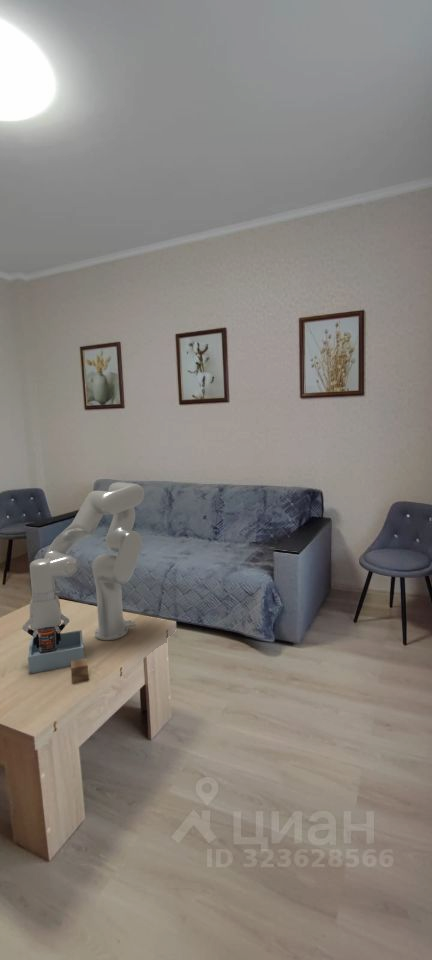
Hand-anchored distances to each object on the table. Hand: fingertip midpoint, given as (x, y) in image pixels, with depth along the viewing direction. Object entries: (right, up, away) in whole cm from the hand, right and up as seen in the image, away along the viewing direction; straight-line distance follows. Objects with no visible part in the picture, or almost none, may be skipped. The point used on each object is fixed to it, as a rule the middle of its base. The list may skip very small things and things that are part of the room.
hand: (47, 644), depth 159 cm
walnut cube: (+15, -7, -11) cm, 20 cm away
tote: (+3, -5, +1) cm, 6 cm away
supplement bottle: (0, -3, 0) cm, 3 cm away
